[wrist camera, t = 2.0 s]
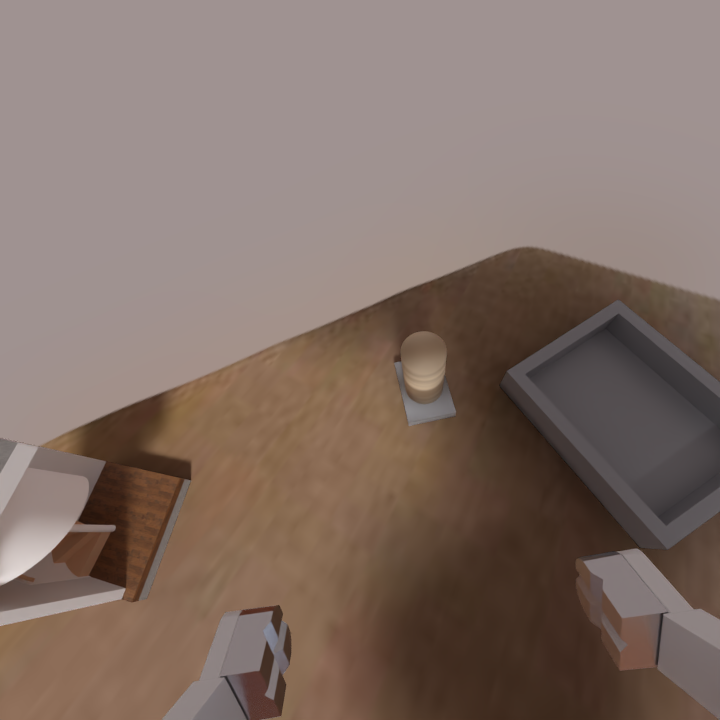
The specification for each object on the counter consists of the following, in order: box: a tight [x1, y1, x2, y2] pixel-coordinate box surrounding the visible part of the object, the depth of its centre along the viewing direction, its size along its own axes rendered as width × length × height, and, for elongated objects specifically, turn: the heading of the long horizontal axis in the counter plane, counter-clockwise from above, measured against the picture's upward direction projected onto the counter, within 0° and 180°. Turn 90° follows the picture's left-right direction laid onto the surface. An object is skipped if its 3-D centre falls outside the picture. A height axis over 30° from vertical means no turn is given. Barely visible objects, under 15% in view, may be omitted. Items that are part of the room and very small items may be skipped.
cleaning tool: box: [395, 331, 456, 426], centre depth 36 cm, size 7×5×10 cm
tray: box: [499, 300, 720, 550], centre depth 34 cm, size 18×14×4 cm
